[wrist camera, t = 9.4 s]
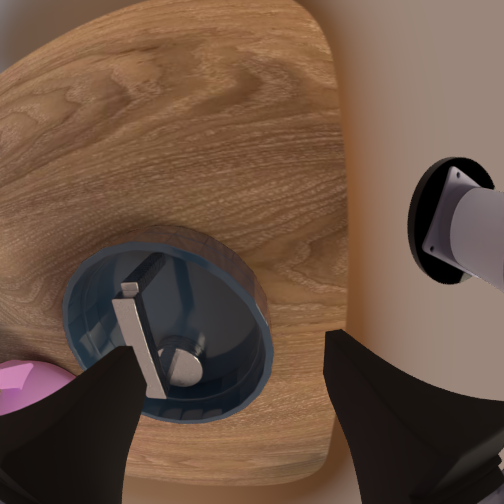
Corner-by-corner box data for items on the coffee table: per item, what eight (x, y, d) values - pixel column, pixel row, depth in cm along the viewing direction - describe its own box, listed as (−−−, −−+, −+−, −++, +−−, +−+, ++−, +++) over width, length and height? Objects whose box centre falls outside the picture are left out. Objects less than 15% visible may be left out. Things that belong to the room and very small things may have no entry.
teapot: (159, 460, 27) (141, 535, 15) (72, 446, 28) (46, 502, 16) (70, 320, 20) (-8, 408, 9) (-9, 325, 21) (-66, 378, 10)
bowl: (298, 262, 19) (312, 291, 15) (235, 402, 23) (233, 440, 19) (104, 199, 17) (68, 210, 13) (89, 351, 21) (67, 382, 17)
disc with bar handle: (209, 374, 21) (199, 431, 15) (163, 374, 21) (144, 427, 15) (185, 250, 18) (156, 290, 12) (130, 255, 18) (87, 293, 12)
